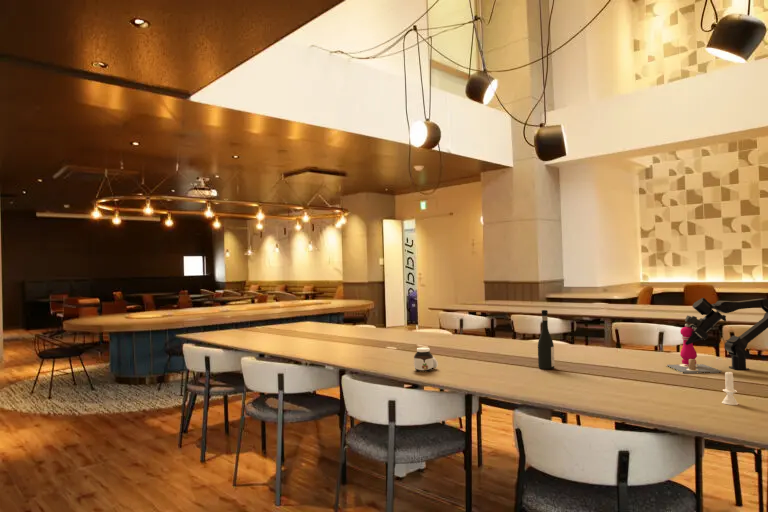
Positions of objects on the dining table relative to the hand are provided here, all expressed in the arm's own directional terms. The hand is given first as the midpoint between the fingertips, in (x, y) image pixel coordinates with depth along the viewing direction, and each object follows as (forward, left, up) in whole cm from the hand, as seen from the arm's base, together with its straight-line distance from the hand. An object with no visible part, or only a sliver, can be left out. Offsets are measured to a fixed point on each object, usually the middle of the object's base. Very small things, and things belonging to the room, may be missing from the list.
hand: (685, 343), depth 267 cm
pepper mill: (0, -1, -10) cm, 10 cm away
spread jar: (+2, +130, -13) cm, 130 cm away
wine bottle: (+3, +68, -12) cm, 69 cm away
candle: (-68, +16, -12) cm, 71 cm away
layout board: (-5, -1, -12) cm, 13 cm away
